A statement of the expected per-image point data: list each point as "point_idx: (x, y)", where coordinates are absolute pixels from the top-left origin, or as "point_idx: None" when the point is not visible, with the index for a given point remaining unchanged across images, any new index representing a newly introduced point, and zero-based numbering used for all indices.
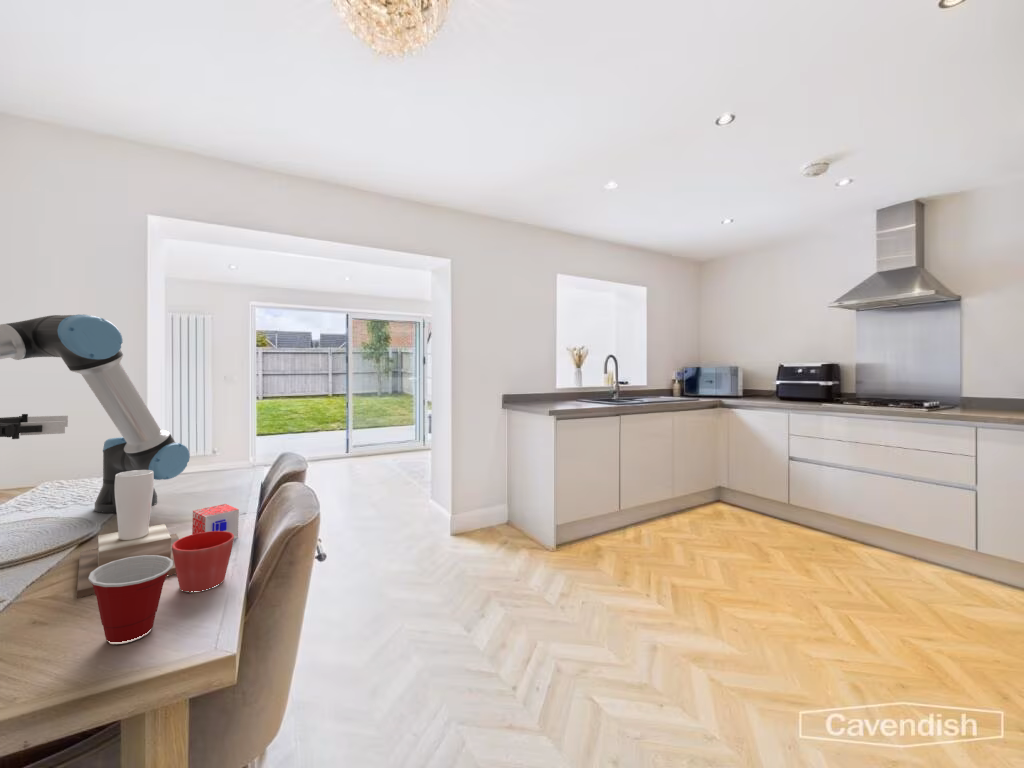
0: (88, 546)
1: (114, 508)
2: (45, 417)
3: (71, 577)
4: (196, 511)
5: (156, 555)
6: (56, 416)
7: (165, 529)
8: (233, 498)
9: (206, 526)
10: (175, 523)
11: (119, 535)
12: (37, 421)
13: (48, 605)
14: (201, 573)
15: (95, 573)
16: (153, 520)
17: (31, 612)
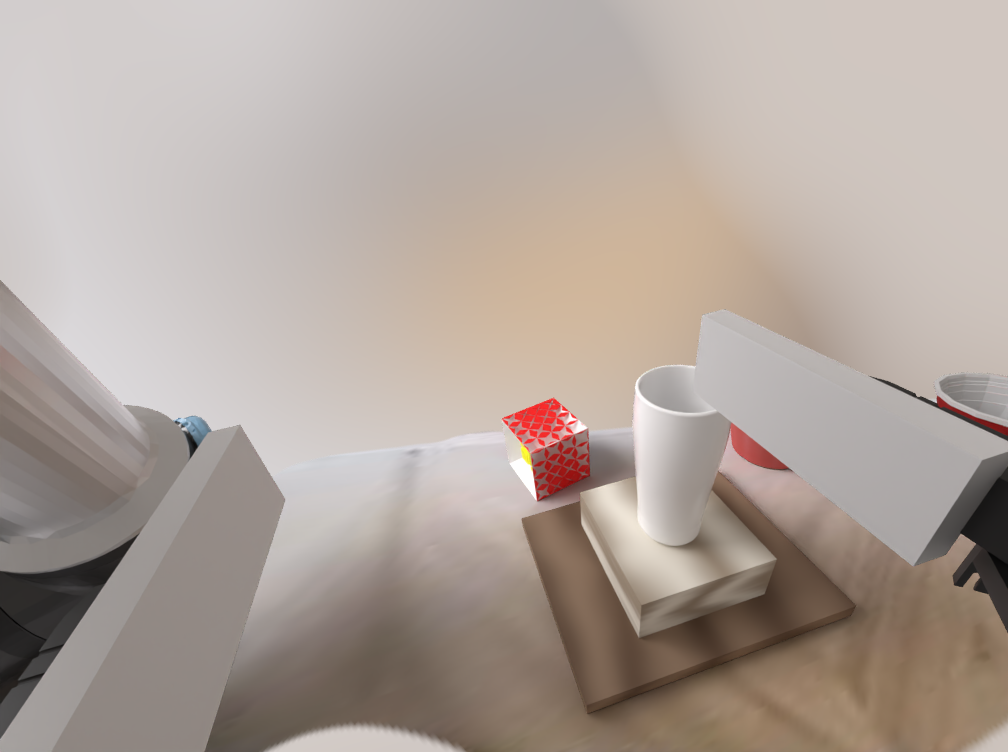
0: (486, 727)
1: None
2: (177, 557)
3: (731, 678)
4: (531, 450)
5: (938, 390)
6: (210, 479)
7: (624, 482)
8: (277, 483)
9: (585, 444)
10: (399, 553)
11: (697, 533)
12: (172, 662)
13: (898, 664)
14: None
15: None
16: (331, 610)
17: (943, 688)
